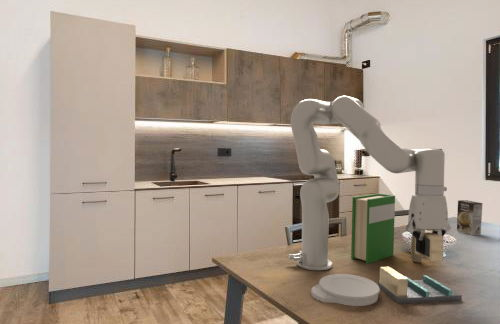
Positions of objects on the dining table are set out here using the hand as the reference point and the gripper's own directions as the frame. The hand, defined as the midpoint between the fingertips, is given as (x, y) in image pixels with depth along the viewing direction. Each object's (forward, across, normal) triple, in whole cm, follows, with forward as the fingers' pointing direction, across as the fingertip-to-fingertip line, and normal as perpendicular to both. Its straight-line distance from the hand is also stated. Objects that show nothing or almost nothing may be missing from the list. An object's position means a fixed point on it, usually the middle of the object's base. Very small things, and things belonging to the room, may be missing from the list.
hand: (427, 251), depth 104 cm
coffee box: (+13, -68, -66) cm, 96 cm away
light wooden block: (+1, 0, 0) cm, 1 cm away
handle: (+12, -14, -27) cm, 33 cm away
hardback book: (+12, 0, -34) cm, 36 cm away
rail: (+12, +3, 0) cm, 13 cm away
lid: (+13, +25, -2) cm, 28 cm away
